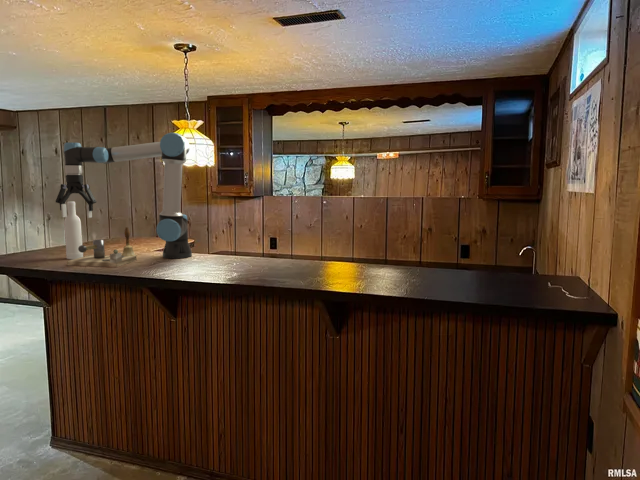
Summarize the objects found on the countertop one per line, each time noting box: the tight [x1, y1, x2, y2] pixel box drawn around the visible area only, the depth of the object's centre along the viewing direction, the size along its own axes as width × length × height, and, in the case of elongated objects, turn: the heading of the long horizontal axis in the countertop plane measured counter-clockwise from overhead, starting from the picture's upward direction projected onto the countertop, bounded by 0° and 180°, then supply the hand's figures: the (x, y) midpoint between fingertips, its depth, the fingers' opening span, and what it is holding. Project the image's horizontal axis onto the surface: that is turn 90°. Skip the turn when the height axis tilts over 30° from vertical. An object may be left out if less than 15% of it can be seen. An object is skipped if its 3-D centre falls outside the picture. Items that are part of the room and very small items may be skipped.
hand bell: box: [121, 226, 138, 257], centre depth 245 cm, size 8×8×16 cm
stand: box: [66, 249, 137, 268], centre depth 227 cm, size 26×18×8 cm
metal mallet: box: [78, 238, 106, 258], centre depth 224 cm, size 15×5×9 cm, turn 164°
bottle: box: [63, 200, 84, 260], centre depth 238 cm, size 8×8×30 cm
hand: (77, 217), depth 226 cm, fingers open, 13 cm apart
